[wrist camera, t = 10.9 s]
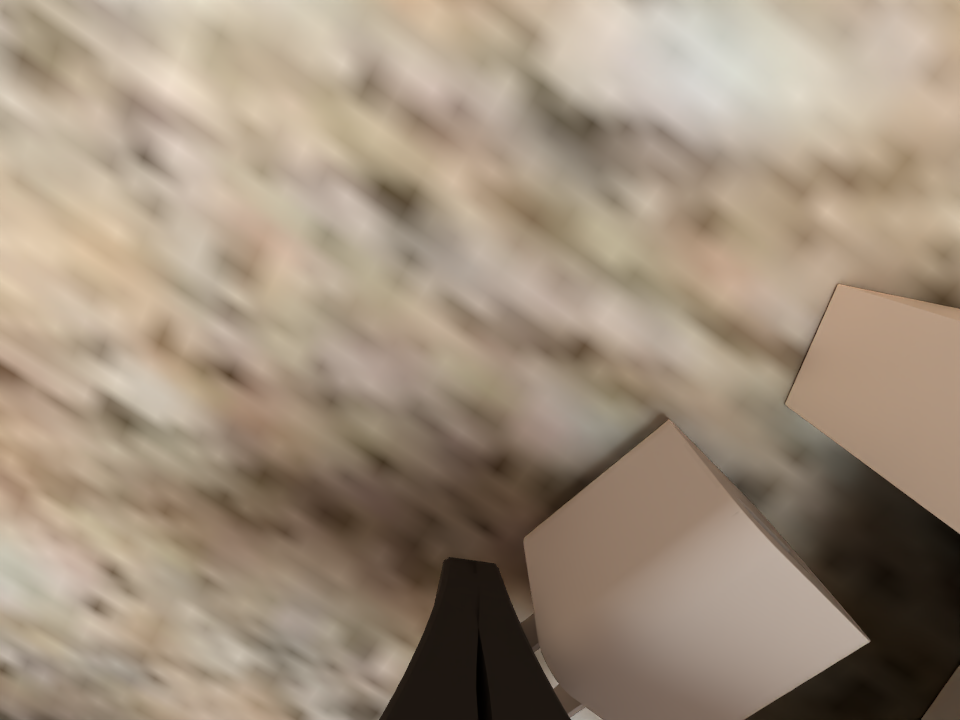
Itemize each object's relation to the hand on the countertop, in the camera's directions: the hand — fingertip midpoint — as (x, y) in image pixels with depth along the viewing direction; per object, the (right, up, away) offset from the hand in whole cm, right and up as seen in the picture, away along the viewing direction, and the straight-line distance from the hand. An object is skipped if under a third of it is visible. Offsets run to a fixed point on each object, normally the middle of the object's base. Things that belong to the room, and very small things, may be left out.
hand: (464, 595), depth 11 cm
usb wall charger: (+3, +1, +2) cm, 4 cm away
